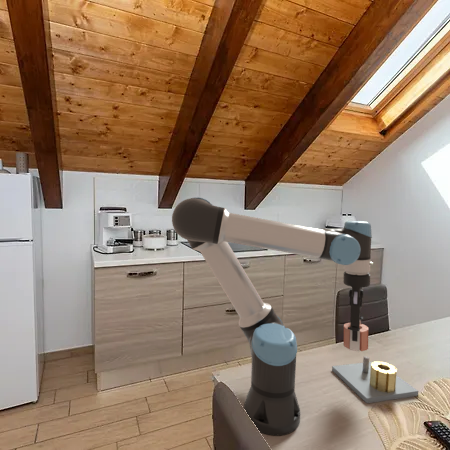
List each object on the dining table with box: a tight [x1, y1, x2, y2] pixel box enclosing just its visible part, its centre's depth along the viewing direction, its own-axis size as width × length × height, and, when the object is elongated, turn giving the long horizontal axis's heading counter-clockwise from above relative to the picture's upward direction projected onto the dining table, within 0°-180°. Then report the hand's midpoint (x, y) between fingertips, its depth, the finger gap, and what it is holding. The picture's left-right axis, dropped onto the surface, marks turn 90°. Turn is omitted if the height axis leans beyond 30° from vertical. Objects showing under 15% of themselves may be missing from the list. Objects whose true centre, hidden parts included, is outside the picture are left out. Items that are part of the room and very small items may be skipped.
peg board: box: [331, 355, 419, 404], centre depth 103 cm, size 18×18×6 cm
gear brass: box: [370, 360, 398, 393], centre depth 99 cm, size 7×7×6 cm
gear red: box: [343, 322, 369, 352], centre depth 99 cm, size 7×7×6 cm
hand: (355, 344), depth 99 cm, fingers closed on gear red, 7 cm apart
